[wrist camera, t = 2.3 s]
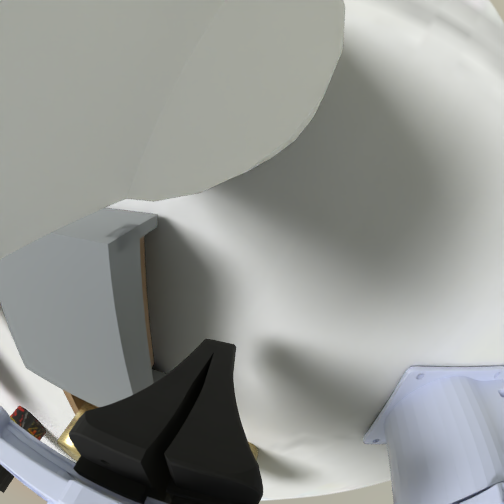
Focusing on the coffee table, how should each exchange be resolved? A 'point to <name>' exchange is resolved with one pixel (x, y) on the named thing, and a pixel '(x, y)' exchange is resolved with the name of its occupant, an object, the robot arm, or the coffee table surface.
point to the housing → (83, 306)
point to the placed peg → (64, 438)
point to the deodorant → (29, 423)
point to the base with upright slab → (149, 99)
